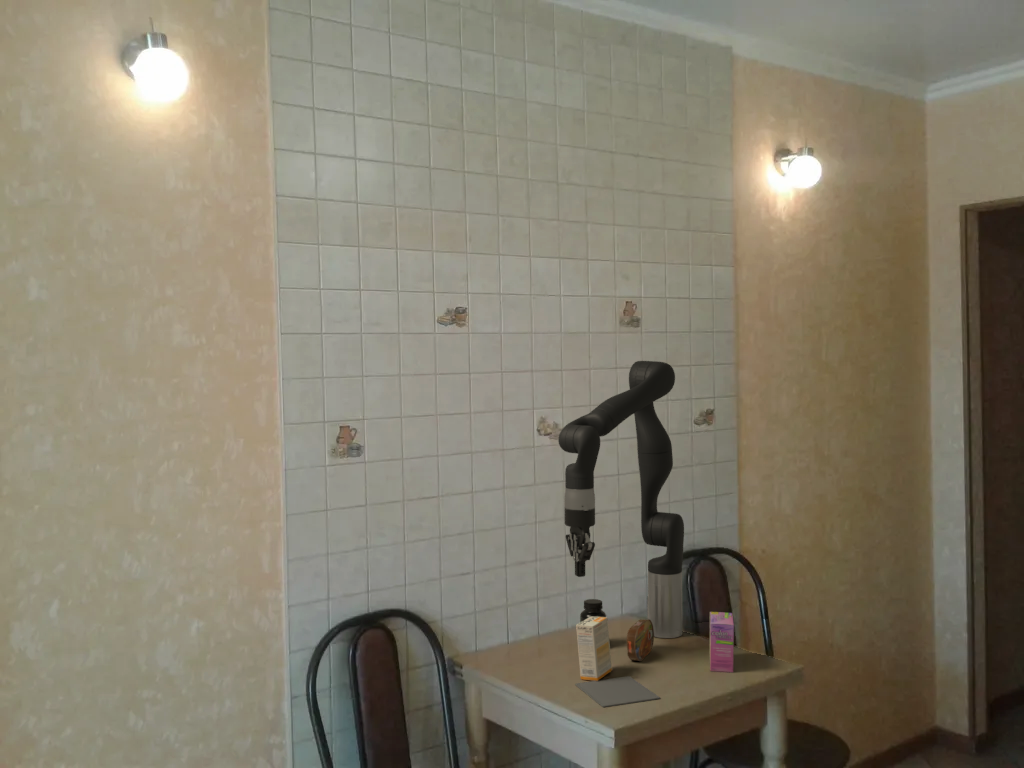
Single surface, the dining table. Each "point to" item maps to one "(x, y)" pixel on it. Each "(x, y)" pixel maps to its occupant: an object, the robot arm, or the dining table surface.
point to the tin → (640, 640)
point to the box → (721, 642)
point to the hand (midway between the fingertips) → (580, 576)
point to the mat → (617, 691)
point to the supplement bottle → (592, 609)
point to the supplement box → (593, 648)
